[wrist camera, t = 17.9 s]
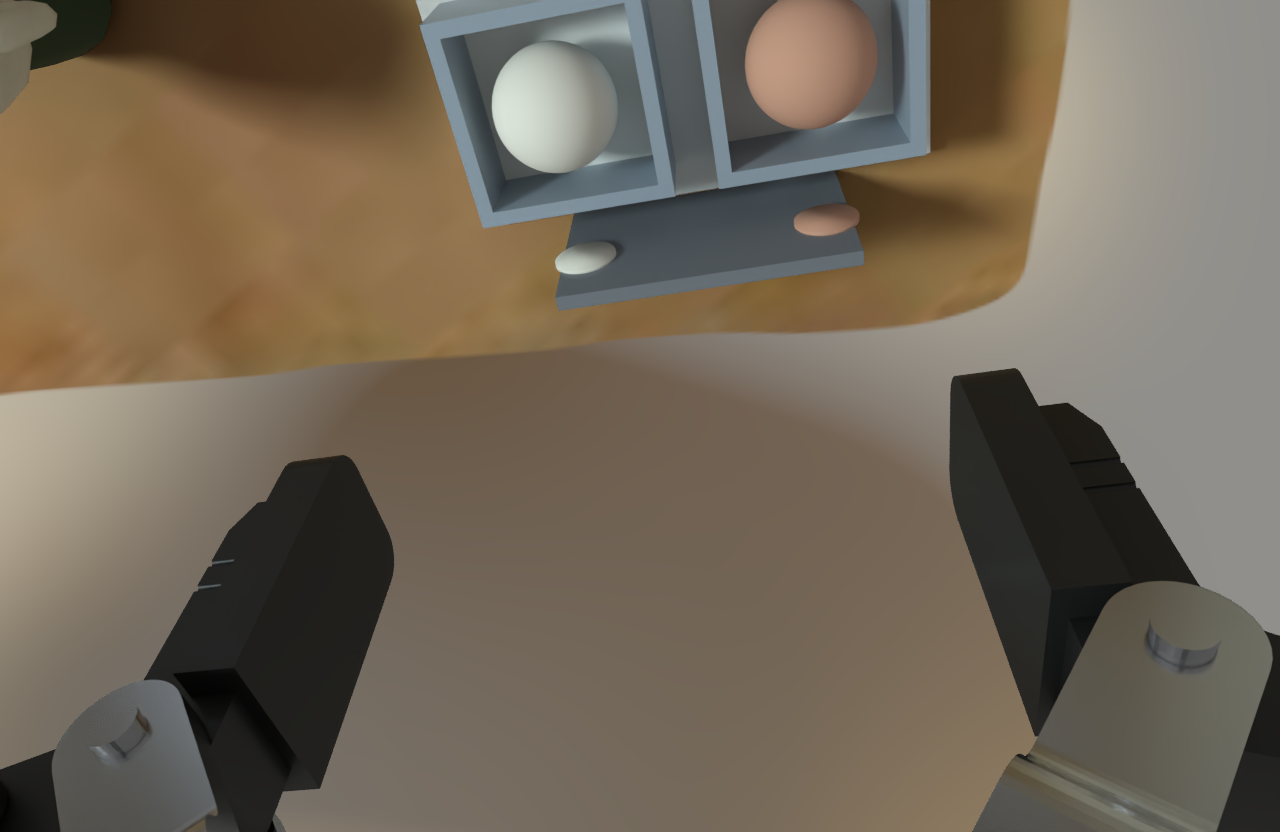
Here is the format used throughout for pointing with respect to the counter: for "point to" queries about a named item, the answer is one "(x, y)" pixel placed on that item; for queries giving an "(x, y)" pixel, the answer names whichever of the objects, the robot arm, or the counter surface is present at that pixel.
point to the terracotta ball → (811, 61)
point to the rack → (665, 99)
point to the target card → (708, 241)
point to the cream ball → (554, 106)
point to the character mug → (45, 37)
